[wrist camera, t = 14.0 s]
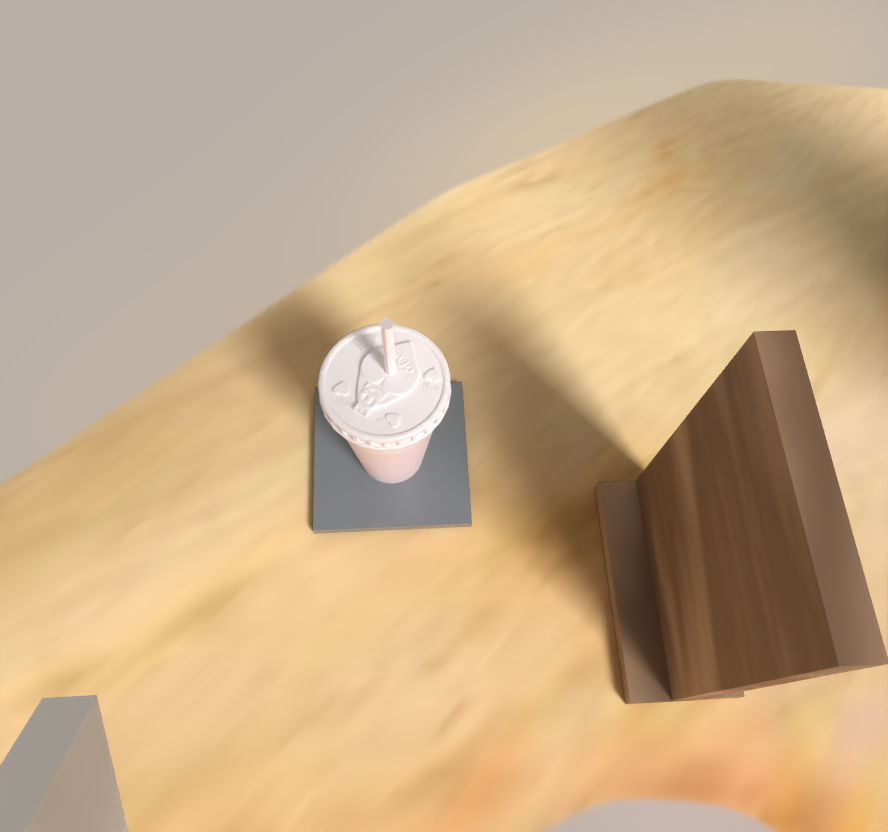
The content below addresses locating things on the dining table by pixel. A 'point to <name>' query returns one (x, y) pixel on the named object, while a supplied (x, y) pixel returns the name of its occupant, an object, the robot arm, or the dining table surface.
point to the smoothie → (385, 396)
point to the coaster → (392, 504)
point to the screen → (737, 544)
